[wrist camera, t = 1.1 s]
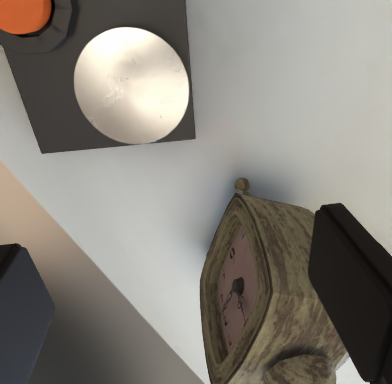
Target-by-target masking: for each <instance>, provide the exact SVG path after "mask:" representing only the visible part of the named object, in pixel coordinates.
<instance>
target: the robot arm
mask: <svg viewBox="0 0 392 384" xmlns="http://www.w3.org/2000/svg"><path fill="white" fill-rule="evenodd" d="M308 277H309V280H310V282H311V284H312V286H313V288H314V290H315V291H316V293H317V295H318V297H319V299H320V301H321V303H322V305H323V307H324V308H325V310H326V312H327V314H328V316H329V318H330V320H331V322H332V324H333V326H334V327H335V329H336V331H337V333H338V335H339V337H340V339H341V341H342V343H343V344H344V346H345V348H346V350H347V352H348V354H349V356H350V358H351V360H352V362H353V363H354V365H355V367H356V369H357V371H358V373H359V375H360V376H361V378H362V379H363V380H364V381H365V382H370V384H392V256H391V255H390V254H389V253H388V252H387V251H386V250H385V249H384V248H383V246H382V245H381V244H379V243H378V242H377V241H376V240H375V239H374V238H373V237H372V236H371V235H370V234H369V233H368V231H367V230H366V229H365V228H364V227H363V226H362V225H361V224H360V223H359V222H358V220H357V219H356V218H355V217H354V216H353V215H352V214H351V213H350V212H349V211H348V210H347V208H346V207H345V206H344V205H343V204H341V203H336V204H328V205H322V206H321V208H320V210H317V211H316V212H315V217H314V225H313V233H312V240H311V248H310V256H309V264H308ZM54 309H55V307H54V302H53V300H52V298H51V296H50V294H49V292H48V290H47V289H46V287H45V284H44V282H43V280H42V278H41V276H40V275H39V272H38V270H37V269H36V267H35V265H34V262H33V261H32V259H31V257H30V255H29V253H28V251H27V249H26V248H24V247H21V245H19V244H16V243H15V244H7V245H0V384H28V381H29V378H30V376H31V373H32V370H33V368H34V365H35V362H36V360H37V357H38V355H39V352H40V349H41V347H42V344H43V341H44V338H45V336H46V333H47V331H48V328H49V325H50V323H51V320H52V317H53V315H54Z"/></svg>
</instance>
